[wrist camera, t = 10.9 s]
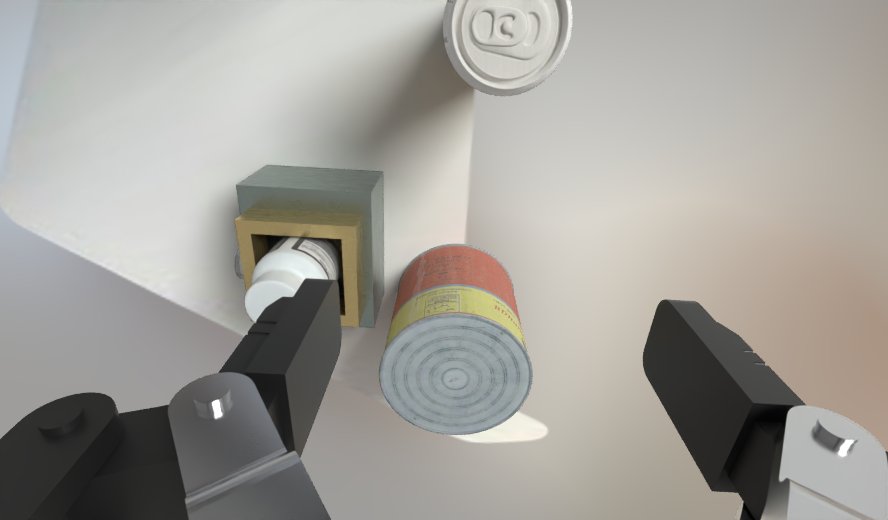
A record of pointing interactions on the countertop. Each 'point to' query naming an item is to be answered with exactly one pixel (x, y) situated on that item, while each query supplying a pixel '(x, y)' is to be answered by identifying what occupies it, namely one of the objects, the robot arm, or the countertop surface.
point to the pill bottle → (292, 269)
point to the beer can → (506, 42)
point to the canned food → (455, 343)
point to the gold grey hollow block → (318, 227)
